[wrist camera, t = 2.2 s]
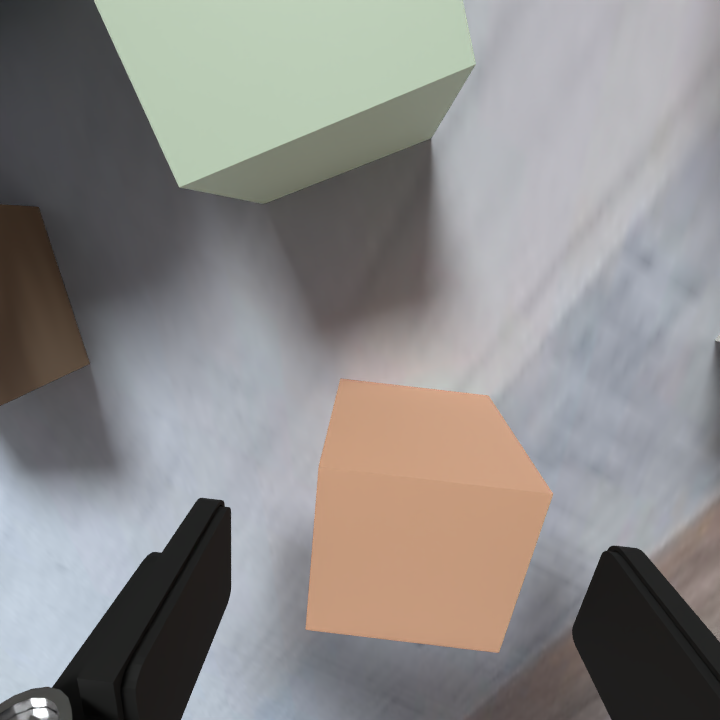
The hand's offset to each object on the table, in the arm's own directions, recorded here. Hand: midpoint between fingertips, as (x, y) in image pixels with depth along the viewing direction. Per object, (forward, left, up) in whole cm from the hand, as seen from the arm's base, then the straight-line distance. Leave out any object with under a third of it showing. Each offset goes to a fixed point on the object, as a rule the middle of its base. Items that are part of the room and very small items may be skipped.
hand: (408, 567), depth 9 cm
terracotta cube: (-1, 0, -5) cm, 5 cm away
